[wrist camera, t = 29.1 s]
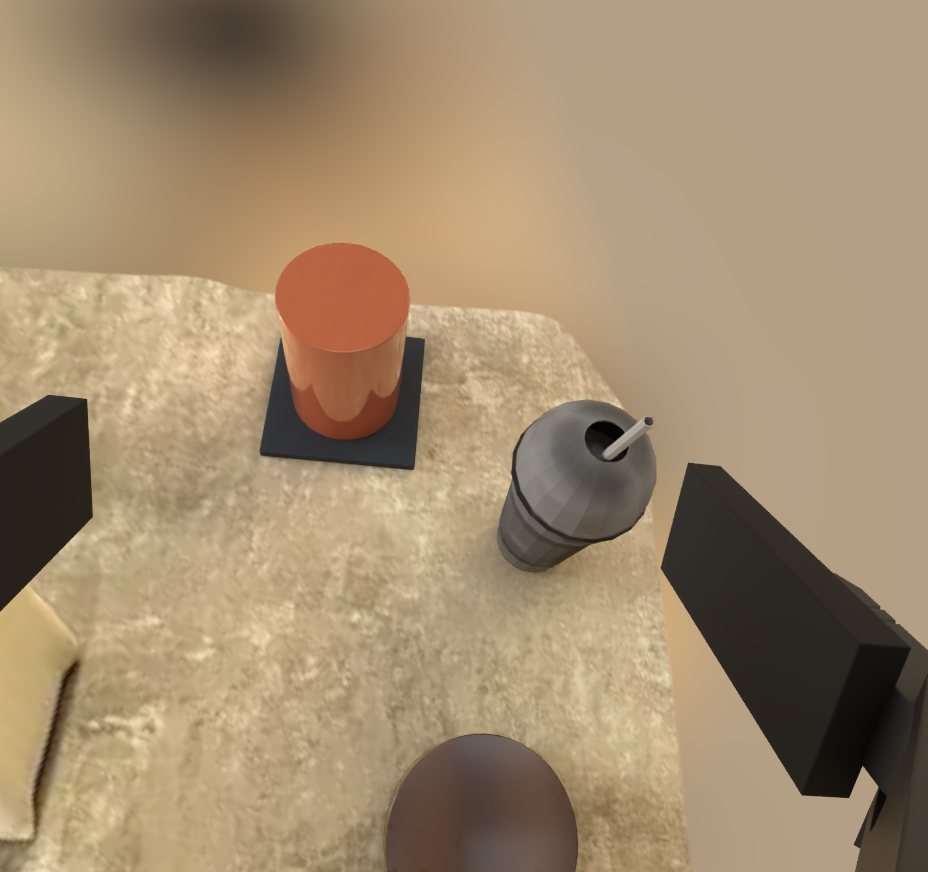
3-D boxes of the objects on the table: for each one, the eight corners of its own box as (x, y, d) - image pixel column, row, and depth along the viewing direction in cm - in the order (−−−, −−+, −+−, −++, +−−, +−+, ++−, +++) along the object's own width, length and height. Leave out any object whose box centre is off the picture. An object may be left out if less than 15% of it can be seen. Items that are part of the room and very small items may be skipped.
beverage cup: (578, 485, 48) (712, 319, 30) (591, 592, 45) (750, 480, 27) (473, 485, 47) (545, 313, 29) (479, 595, 44) (565, 479, 26)
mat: (424, 343, 51) (424, 338, 50) (413, 470, 46) (414, 466, 46) (284, 327, 50) (283, 322, 49) (260, 455, 45) (259, 451, 45)
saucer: (564, 739, 41) (576, 738, 38) (566, 948, 36) (580, 961, 34) (392, 730, 40) (394, 728, 37) (374, 944, 35) (375, 956, 33)
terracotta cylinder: (403, 353, 49) (414, 251, 40) (394, 445, 46) (404, 359, 36) (300, 341, 49) (285, 234, 39) (284, 434, 46) (264, 344, 36)
